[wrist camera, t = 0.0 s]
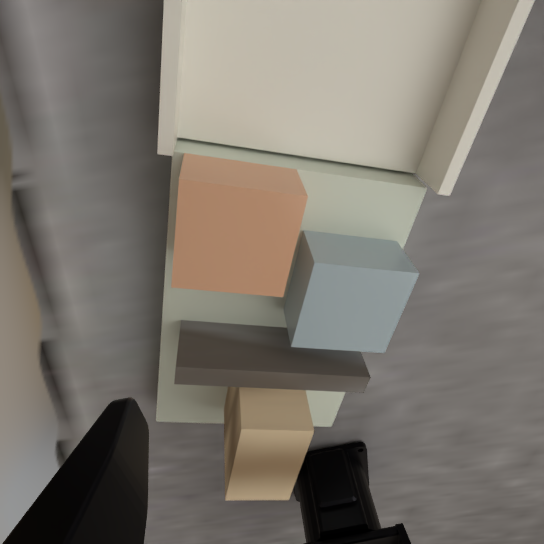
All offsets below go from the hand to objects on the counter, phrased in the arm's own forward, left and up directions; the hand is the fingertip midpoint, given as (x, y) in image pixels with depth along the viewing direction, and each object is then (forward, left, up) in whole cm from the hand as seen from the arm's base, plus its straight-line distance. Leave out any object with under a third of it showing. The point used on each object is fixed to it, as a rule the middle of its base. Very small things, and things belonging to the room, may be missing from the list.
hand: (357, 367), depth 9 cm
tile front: (-2, +3, -13) cm, 13 cm away
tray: (+5, -3, -15) cm, 16 cm away
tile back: (-7, -2, -13) cm, 15 cm away
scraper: (-14, +3, -13) cm, 19 cm away
